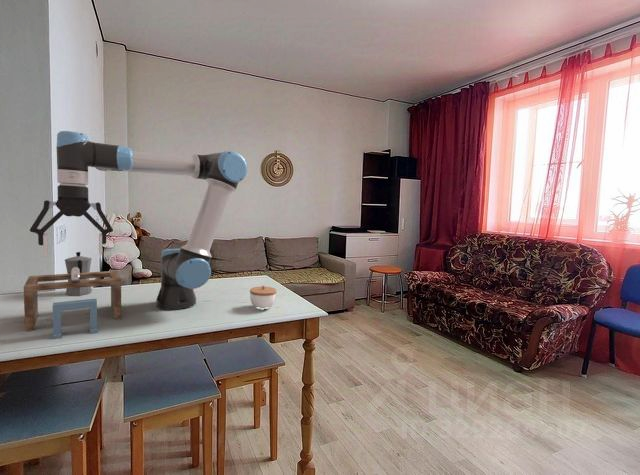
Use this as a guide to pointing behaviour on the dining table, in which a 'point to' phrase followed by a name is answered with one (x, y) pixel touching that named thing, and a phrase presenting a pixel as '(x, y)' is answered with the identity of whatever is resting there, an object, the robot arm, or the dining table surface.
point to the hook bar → (75, 275)
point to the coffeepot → (84, 267)
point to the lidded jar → (262, 296)
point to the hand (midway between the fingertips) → (74, 255)
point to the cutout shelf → (33, 287)
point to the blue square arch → (73, 306)
